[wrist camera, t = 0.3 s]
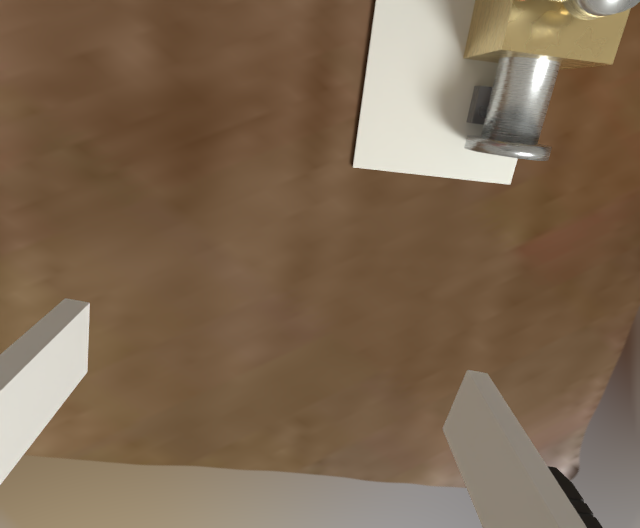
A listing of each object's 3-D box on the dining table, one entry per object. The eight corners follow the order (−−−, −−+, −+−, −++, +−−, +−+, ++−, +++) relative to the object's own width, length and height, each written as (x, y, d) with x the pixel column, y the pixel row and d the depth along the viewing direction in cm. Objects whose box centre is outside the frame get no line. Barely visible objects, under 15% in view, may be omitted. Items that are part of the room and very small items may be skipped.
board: (401, -187, 31) (402, -190, 30) (599, -153, 32) (603, -155, 31) (352, 166, 40) (352, 167, 39) (508, 183, 41) (510, 184, 40)
